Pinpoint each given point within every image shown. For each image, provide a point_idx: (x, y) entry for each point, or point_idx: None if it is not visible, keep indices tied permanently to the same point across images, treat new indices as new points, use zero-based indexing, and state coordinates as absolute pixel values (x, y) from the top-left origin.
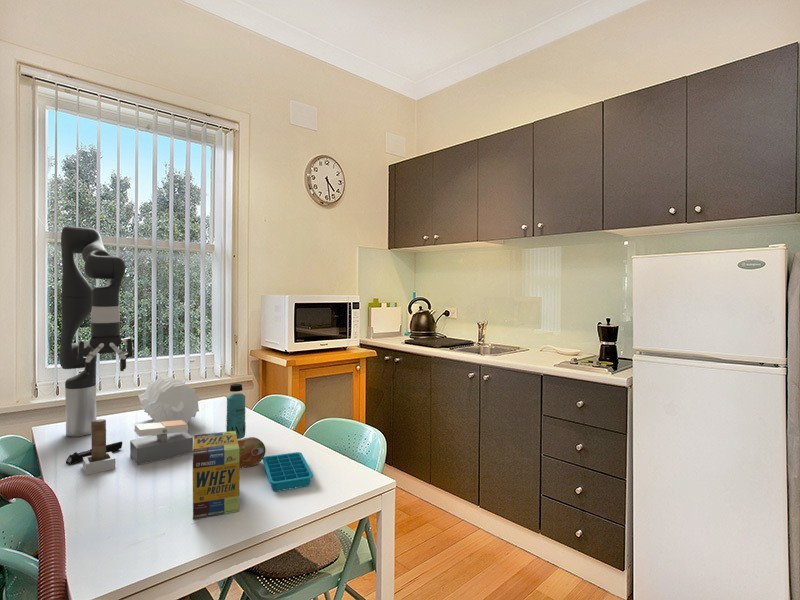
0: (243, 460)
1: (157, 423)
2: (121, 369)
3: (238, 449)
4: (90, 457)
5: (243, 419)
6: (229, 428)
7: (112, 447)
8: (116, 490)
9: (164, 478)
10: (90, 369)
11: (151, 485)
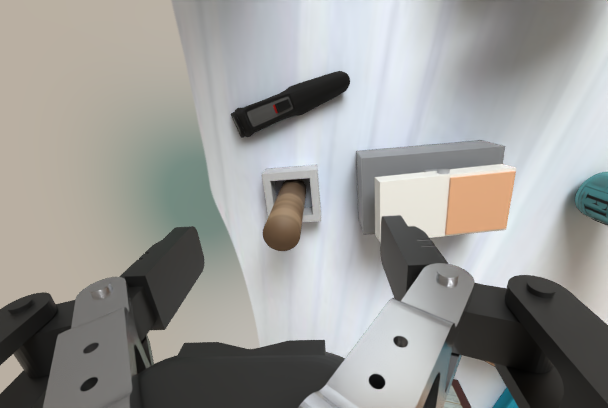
0: None
1: (439, 186)
2: (385, 265)
3: None
4: (276, 180)
5: None
6: (602, 215)
7: (324, 98)
8: (314, 306)
9: (384, 303)
10: (186, 290)
11: (361, 317)
